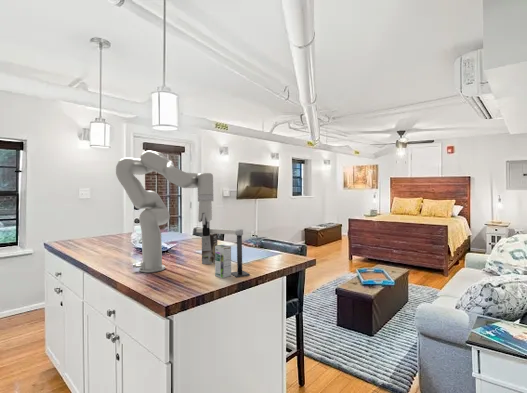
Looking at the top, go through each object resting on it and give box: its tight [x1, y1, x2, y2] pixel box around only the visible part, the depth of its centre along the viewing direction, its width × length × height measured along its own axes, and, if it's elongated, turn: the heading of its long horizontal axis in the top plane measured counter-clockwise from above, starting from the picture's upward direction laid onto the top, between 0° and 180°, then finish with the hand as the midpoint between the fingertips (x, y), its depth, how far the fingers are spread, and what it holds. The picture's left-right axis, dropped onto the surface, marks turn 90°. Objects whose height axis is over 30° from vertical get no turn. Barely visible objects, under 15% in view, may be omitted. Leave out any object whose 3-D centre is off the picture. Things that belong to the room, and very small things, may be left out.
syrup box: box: [214, 244, 232, 279], centre depth 150 cm, size 6×6×14 cm
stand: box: [231, 235, 250, 278], centre depth 151 cm, size 7×7×19 cm
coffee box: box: [201, 233, 218, 265], centre depth 178 cm, size 9×6×16 cm
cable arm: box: [193, 227, 244, 236], centre depth 156 cm, size 27×4×2 cm, turn 67°
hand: (206, 235), depth 154 cm, fingers closed
